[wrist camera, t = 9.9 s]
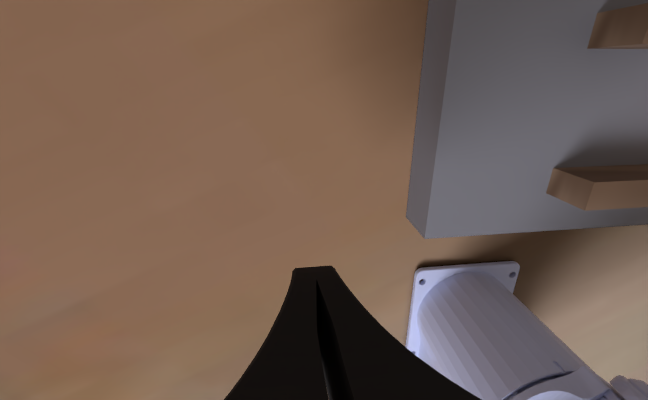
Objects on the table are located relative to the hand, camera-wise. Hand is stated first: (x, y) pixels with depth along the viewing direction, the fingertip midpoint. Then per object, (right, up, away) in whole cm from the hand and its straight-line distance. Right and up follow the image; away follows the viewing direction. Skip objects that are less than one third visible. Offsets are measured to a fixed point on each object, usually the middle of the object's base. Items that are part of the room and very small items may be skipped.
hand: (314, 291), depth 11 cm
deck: (+21, +9, +9) cm, 24 cm away
